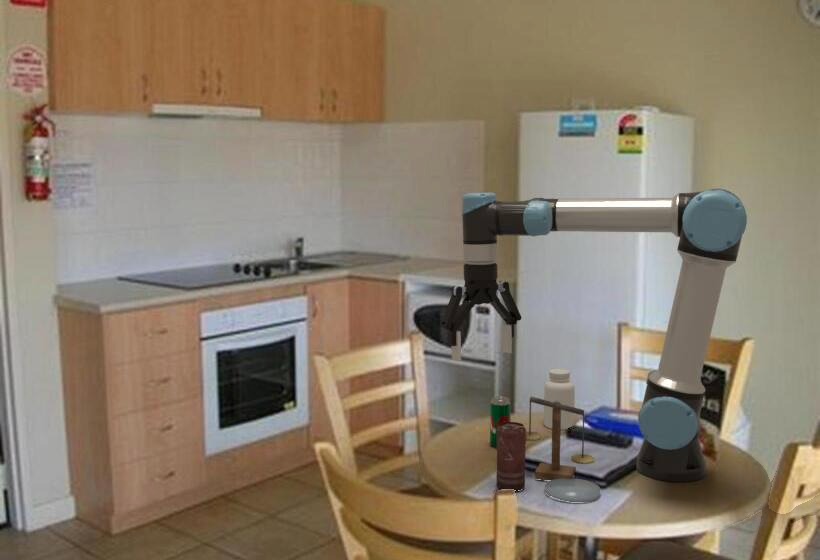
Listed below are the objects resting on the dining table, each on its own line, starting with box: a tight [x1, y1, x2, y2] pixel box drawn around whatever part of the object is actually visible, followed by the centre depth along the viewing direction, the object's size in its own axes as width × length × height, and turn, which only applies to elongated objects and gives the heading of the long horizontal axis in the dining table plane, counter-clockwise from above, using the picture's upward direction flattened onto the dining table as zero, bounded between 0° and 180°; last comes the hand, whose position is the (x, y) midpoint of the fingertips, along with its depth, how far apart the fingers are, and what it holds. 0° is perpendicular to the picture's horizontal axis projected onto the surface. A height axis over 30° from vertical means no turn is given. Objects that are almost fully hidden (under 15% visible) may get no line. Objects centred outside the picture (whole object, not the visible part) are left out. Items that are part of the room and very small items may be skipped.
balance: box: [526, 396, 595, 480], centre depth 195 cm, size 17×6×18 cm, turn 71°
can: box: [496, 421, 527, 491], centre depth 189 cm, size 6×6×14 cm
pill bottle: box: [543, 368, 576, 431], centre depth 233 cm, size 8×8×15 cm
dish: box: [544, 477, 601, 503], centre depth 187 cm, size 12×12×1 cm
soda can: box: [489, 396, 512, 449], centre depth 218 cm, size 5×5×12 cm
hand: (482, 356), depth 198 cm, fingers open, 13 cm apart
